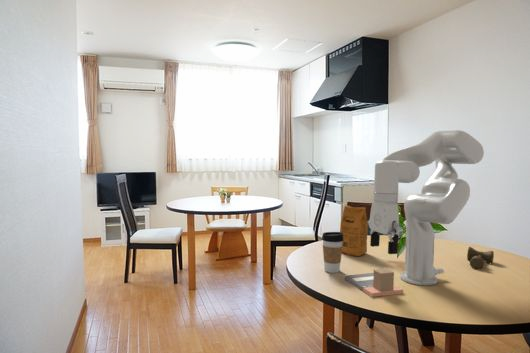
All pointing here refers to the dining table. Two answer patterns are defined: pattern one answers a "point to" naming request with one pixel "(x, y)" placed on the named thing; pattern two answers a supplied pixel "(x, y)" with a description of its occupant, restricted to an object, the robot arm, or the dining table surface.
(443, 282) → the dining table surface
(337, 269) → the coffee cup
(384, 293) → the cube on pink base
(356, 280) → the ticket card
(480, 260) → the kendama
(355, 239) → the coffee package
